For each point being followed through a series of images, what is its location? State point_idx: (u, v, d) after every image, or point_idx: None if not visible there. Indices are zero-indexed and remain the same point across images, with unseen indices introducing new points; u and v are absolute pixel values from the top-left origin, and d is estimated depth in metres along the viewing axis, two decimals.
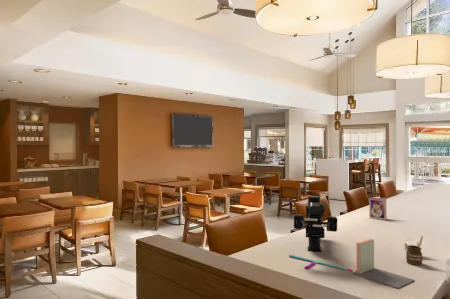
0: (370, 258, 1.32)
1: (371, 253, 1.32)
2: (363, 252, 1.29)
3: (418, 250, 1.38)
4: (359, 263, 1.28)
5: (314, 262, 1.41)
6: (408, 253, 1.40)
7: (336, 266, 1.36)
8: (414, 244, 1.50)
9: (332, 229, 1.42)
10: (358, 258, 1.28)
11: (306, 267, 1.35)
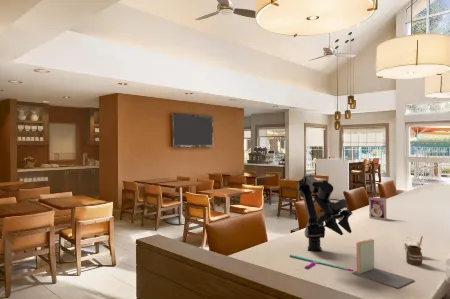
0: (370, 258, 1.32)
1: (371, 253, 1.32)
2: (363, 252, 1.29)
3: (418, 250, 1.38)
4: (359, 263, 1.28)
5: (314, 262, 1.41)
6: (408, 253, 1.40)
7: (336, 266, 1.36)
8: (414, 244, 1.50)
9: None
10: (358, 258, 1.28)
11: (306, 267, 1.35)
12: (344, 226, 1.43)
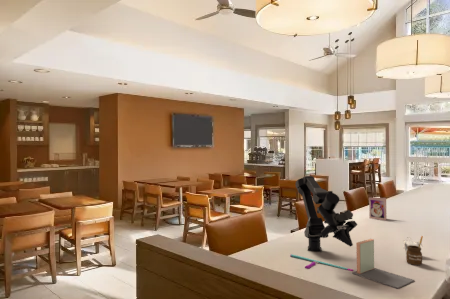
0: (370, 258, 1.32)
1: (371, 253, 1.32)
2: (363, 252, 1.29)
3: (418, 250, 1.38)
4: (359, 263, 1.28)
5: (315, 262, 1.42)
6: (408, 253, 1.40)
7: (337, 266, 1.36)
8: (414, 244, 1.50)
9: None
10: (358, 258, 1.28)
11: (307, 267, 1.36)
12: None
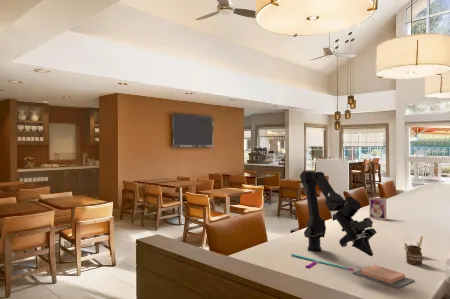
0: None
1: None
2: None
3: (418, 250, 1.38)
4: (370, 276, 1.24)
5: (315, 261, 1.42)
6: (408, 253, 1.40)
7: (337, 265, 1.37)
8: (414, 244, 1.50)
9: None
10: (375, 277, 1.22)
11: (307, 266, 1.36)
12: None
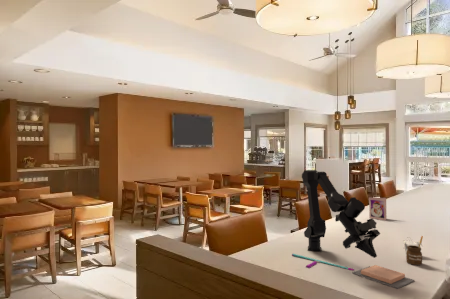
0: None
1: None
2: None
3: (418, 250, 1.38)
4: (370, 276, 1.24)
5: (316, 261, 1.43)
6: (408, 253, 1.40)
7: (338, 265, 1.37)
8: (414, 244, 1.50)
9: None
10: (375, 277, 1.22)
11: (307, 266, 1.37)
12: None
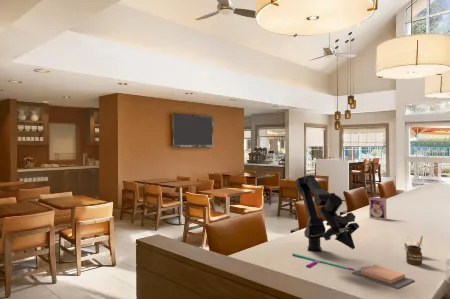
0: None
1: None
2: None
3: (418, 250, 1.38)
4: (370, 276, 1.24)
5: (316, 261, 1.43)
6: (408, 253, 1.40)
7: (338, 265, 1.37)
8: (414, 244, 1.50)
9: None
10: (375, 277, 1.22)
11: (308, 265, 1.37)
12: None
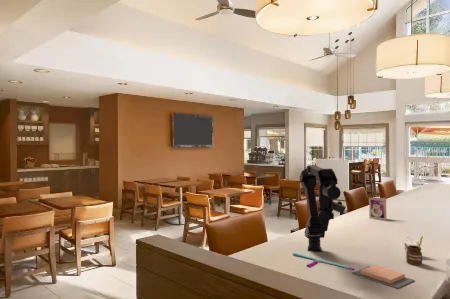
0: None
1: None
2: None
3: (418, 250, 1.38)
4: (370, 276, 1.24)
5: (317, 260, 1.43)
6: (408, 253, 1.40)
7: (338, 265, 1.38)
8: (414, 244, 1.50)
9: None
10: (375, 277, 1.22)
11: (308, 265, 1.37)
12: None
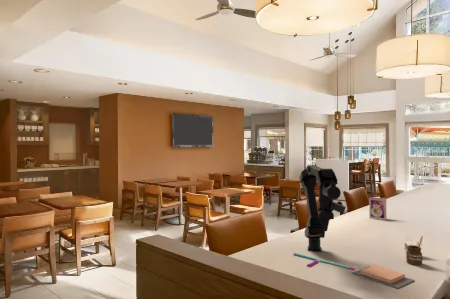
0: None
1: None
2: None
3: (418, 250, 1.38)
4: (370, 276, 1.24)
5: (317, 260, 1.43)
6: (408, 253, 1.40)
7: (339, 264, 1.38)
8: (414, 244, 1.50)
9: None
10: (375, 277, 1.22)
11: (308, 265, 1.38)
12: None
